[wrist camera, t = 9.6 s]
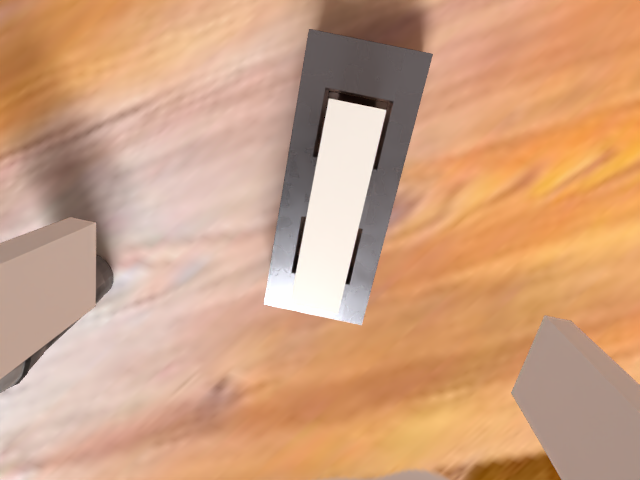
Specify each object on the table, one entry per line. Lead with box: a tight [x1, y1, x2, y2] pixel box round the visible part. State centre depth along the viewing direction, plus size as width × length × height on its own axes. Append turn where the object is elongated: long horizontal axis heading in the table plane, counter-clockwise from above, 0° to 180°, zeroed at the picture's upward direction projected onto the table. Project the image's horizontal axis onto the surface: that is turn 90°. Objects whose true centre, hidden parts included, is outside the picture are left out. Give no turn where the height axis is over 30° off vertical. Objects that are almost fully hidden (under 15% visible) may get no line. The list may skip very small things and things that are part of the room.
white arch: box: [290, 98, 386, 314], centre depth 27 cm, size 12×3×10 cm, turn 169°
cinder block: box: [264, 29, 433, 325], centre depth 30 cm, size 8×20×4 cm, turn 169°
